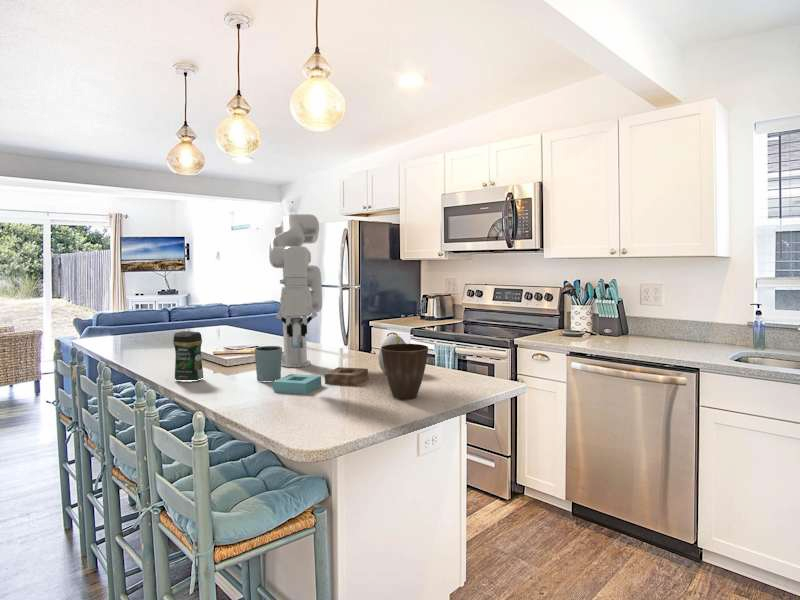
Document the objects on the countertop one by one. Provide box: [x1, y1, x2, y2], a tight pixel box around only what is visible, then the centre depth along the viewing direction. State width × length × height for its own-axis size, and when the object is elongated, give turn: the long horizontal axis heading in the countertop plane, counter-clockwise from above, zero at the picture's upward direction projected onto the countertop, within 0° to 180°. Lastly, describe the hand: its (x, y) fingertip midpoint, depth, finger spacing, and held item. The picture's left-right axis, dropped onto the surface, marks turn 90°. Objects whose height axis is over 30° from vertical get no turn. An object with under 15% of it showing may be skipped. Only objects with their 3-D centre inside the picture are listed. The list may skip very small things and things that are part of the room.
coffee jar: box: [172, 330, 204, 380], centre depth 187 cm, size 10×8×19 cm
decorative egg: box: [378, 334, 407, 375], centre depth 196 cm, size 12×12×15 cm
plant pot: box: [380, 343, 429, 401], centre depth 160 cm, size 15×15×16 cm
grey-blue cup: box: [254, 345, 283, 382], centre depth 187 cm, size 10×10×12 cm
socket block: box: [272, 373, 322, 395], centre depth 173 cm, size 12×12×4 cm
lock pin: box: [291, 317, 303, 348], centre depth 172 cm, size 4×4×10 cm
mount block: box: [324, 366, 369, 386], centre depth 184 cm, size 12×12×4 cm
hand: (297, 335), depth 172 cm, fingers closed on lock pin, 4 cm apart
